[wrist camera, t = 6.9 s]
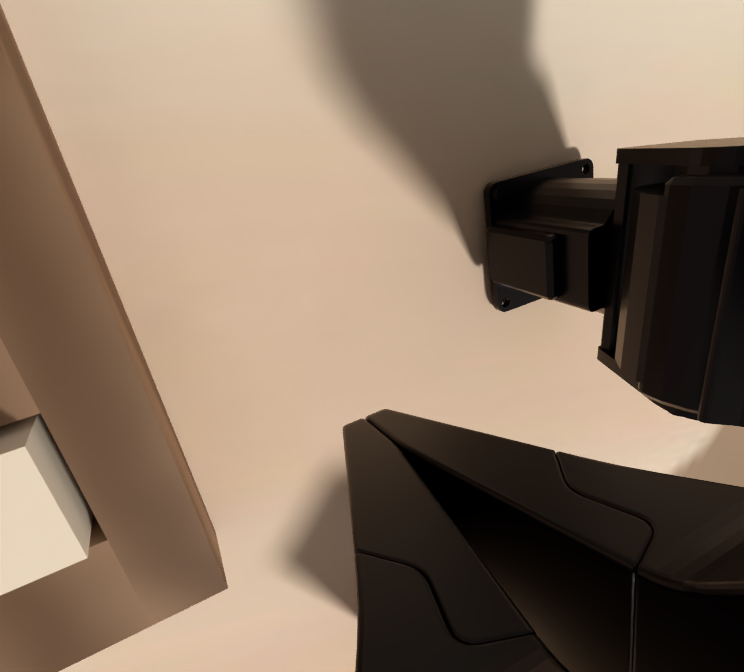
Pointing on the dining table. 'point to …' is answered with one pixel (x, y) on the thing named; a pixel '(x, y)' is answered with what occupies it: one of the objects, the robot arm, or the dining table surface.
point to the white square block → (38, 506)
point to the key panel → (86, 412)
